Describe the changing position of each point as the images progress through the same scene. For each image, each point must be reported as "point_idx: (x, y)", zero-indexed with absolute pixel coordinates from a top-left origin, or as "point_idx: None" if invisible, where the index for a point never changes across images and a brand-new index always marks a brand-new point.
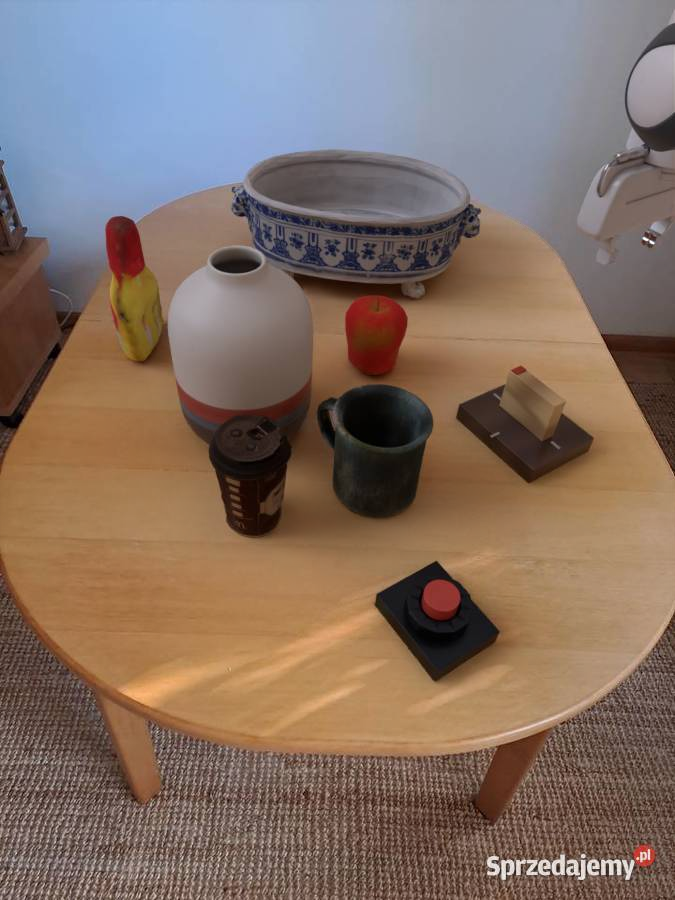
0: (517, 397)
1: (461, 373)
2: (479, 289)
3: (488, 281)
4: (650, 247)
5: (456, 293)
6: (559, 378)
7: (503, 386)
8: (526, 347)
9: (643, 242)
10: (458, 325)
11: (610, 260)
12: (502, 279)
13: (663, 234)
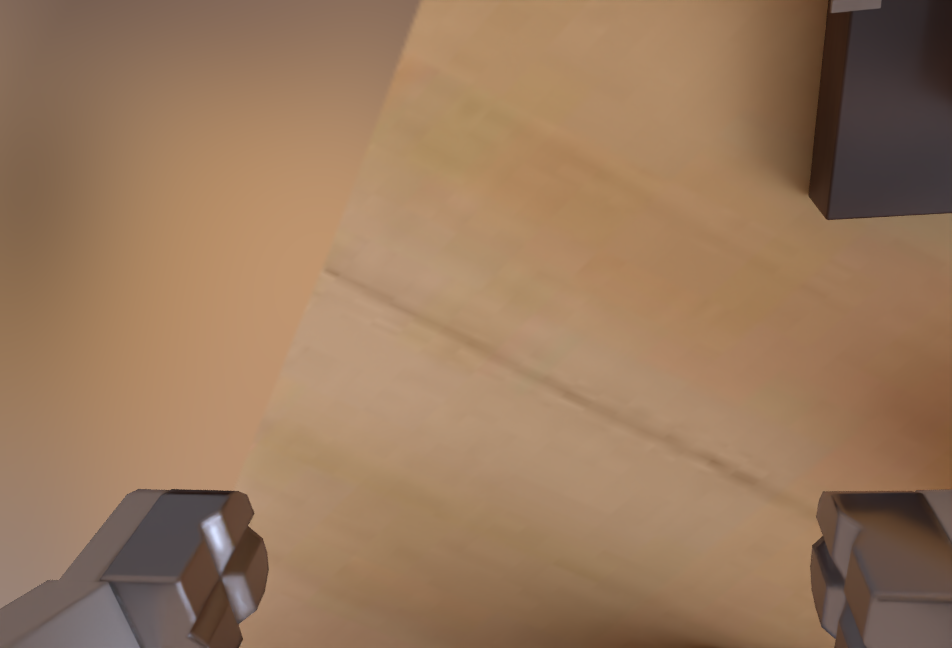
0: None
1: (890, 352)
2: (501, 608)
3: (448, 620)
4: (242, 500)
5: (580, 622)
6: (590, 179)
7: (924, 206)
8: (571, 356)
9: (259, 571)
10: (694, 524)
11: (946, 520)
12: (401, 610)
13: (80, 577)
